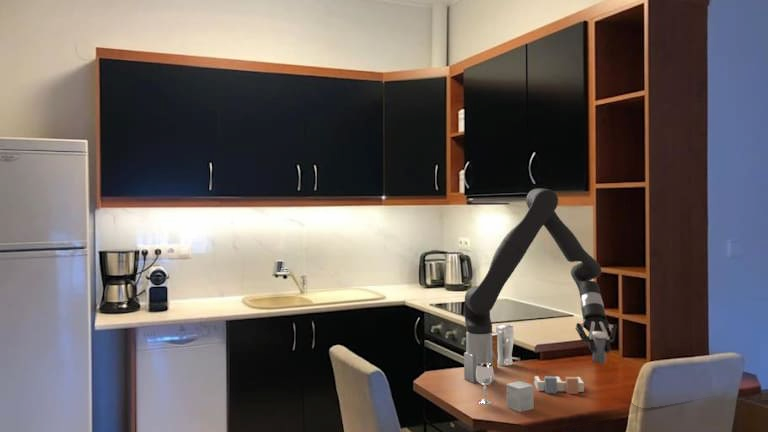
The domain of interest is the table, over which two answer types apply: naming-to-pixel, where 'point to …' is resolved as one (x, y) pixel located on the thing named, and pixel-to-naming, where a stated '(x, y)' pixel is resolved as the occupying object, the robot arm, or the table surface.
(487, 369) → the wineglass
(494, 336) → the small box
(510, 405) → the product box
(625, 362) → the table surface
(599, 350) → the blue white-capped bottle
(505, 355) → the beer glass
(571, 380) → the socket block
